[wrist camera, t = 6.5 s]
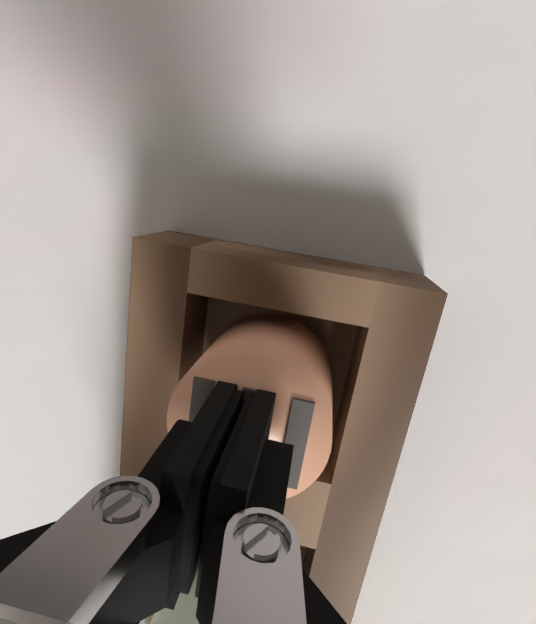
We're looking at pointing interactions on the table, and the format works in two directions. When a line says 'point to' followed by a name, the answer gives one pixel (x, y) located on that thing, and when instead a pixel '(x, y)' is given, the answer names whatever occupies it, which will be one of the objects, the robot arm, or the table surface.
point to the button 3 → (270, 386)
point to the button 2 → (180, 609)
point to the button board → (343, 355)
